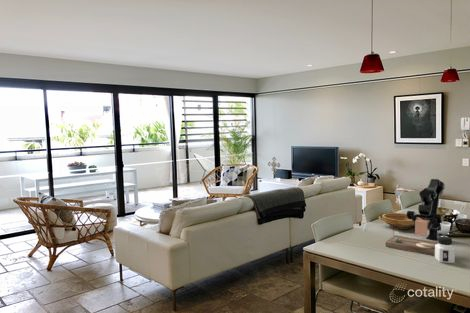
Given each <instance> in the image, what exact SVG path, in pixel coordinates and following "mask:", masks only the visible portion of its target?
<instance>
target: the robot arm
mask: <svg viewBox="0 0 470 313" xmlns="http://www.w3.org/2000/svg"><path fill="white" fill-rule="evenodd" d="M445 187H446V185H445V183H444V182H443V181H441V180H440V179H438V178H432V179H430V181H429V184H428V186H427V187H425V188H424V189H422V190H420V192H419V193H418V194H419V198H420V201H421V204H418V207H417V208H418V209H417V211H418V213H416V212H415V211H413V210H408V211H406V214H407V217H408V219H412V220H413V221H414V224H415V221H416V220H417V217H418V218H421V219H425V220H430V222H429V225H428V230H429V235H428V236H427V237H425V238H426V239H425V240H431V241H438V237H439V235H438V233H439V231H442V224H443V216H442V214H439V213H438V212H439V204H440V197H441V195H442V194H443V193H444V190H445Z"/></svg>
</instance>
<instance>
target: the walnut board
mask: <svg viewBox="0 0 470 313" xmlns="http://www.w3.org/2000/svg"><path fill="white" fill-rule="evenodd" d="M435 244H438V241H435V240H429V239H422V238H421V239H420V238H415V237H408V236H401V235H395V234H394V235H393V236H391V237H389V239H387V240H386V241H385V248H391V249H398V250H403V251H409V252H413V253H419V254H423V255H424V254H425V255H430V256H434V257H435Z"/></svg>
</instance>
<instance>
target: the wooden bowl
mask: <svg viewBox="0 0 470 313" xmlns="http://www.w3.org/2000/svg"><path fill="white" fill-rule="evenodd" d="M378 219H379V220H381V221H383V222H385V224H387V225H389V226H391V227H392V228H393V229H397V230H407V229H409V228H411V227H413V226H414V227H415V224H414V221H413V220H412V219H408V217H407V213H404V212H403V213H402V212H389V213H383V214H382V216H381V215H380V216H378ZM417 219H422V218H419V217H417Z"/></svg>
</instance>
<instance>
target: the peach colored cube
mask: <svg viewBox="0 0 470 313" xmlns="http://www.w3.org/2000/svg"><path fill="white" fill-rule="evenodd" d="M429 222H430V220H426V219H425V218H421V219H417V220H416V221H415V225H414V236H419V237H424V238H426V237H427V236H428V235H429V230H428V225H429Z"/></svg>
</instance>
